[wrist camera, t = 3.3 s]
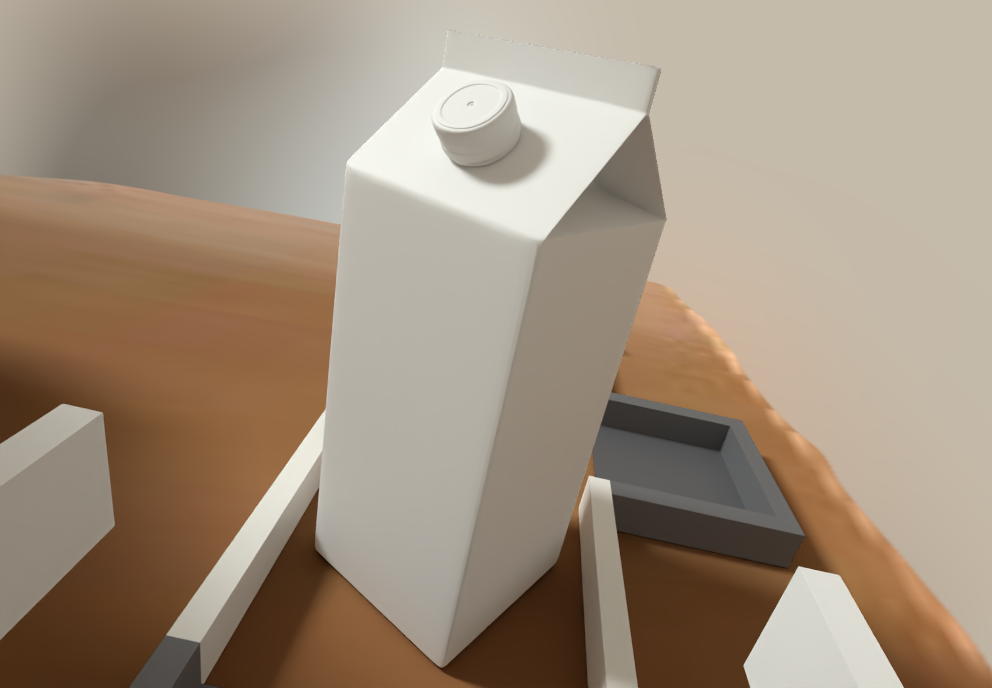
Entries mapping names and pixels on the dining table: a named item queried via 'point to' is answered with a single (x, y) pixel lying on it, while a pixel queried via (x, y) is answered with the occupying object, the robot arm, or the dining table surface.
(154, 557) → the dining table surface
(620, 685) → the trap lane
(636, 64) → the milk carton
